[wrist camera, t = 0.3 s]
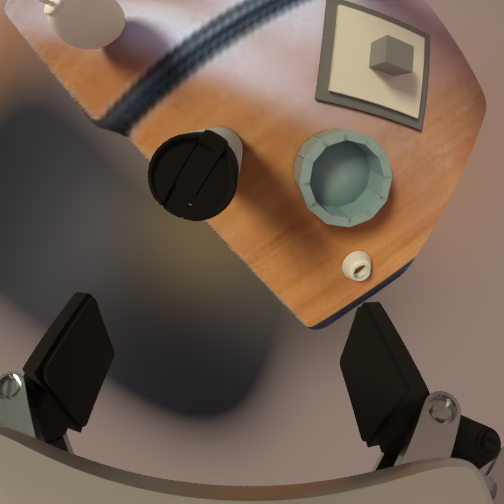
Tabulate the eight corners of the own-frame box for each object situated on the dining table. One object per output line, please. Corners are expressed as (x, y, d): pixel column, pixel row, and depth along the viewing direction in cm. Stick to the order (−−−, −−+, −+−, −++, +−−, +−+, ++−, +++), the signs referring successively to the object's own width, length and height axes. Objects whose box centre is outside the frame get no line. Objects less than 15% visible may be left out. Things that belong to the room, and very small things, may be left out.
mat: (326, -3, 24) (327, -5, 24) (427, 36, 25) (429, 35, 25) (314, 99, 32) (315, 99, 31) (419, 130, 33) (421, 130, 32)
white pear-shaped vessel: (120, 1, 23) (56, -43, 7) (146, 28, 26) (81, -19, 10) (82, 37, 25) (4, 14, 9) (104, 64, 28) (22, 46, 12)
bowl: (300, 121, 33) (309, 121, 28) (380, 140, 34) (399, 144, 29) (286, 206, 38) (292, 219, 34) (363, 217, 39) (378, 231, 34)
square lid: (337, 6, 24) (350, -9, 19) (421, 39, 25) (443, 32, 20) (328, 91, 31) (342, 86, 25) (415, 118, 31) (437, 120, 26)
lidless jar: (368, 246, 42) (339, 254, 42) (375, 254, 39) (345, 263, 40) (370, 271, 44) (343, 280, 44) (376, 281, 41) (348, 289, 42)
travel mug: (253, 140, 34) (260, 161, 16) (226, 180, 37) (206, 243, 19) (213, 116, 33) (174, 110, 15) (187, 157, 35) (128, 197, 17)
